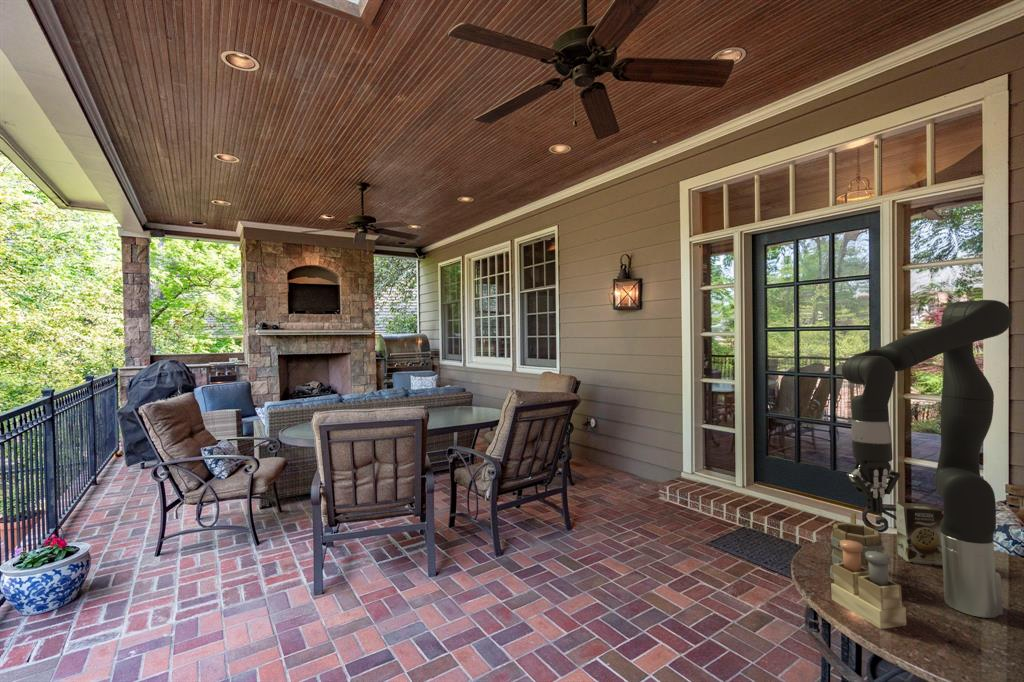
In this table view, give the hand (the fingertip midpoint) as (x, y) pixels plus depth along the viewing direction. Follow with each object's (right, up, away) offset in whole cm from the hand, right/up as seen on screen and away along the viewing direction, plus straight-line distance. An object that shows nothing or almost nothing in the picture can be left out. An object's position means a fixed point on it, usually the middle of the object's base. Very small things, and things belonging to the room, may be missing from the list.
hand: (875, 512), depth 108 cm
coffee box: (+37, -25, +29) cm, 53 cm away
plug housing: (0, -25, +3) cm, 25 cm away
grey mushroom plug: (0, -17, -1) cm, 17 cm away
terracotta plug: (-1, -17, +6) cm, 18 cm away
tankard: (+12, -26, +21) cm, 35 cm away
